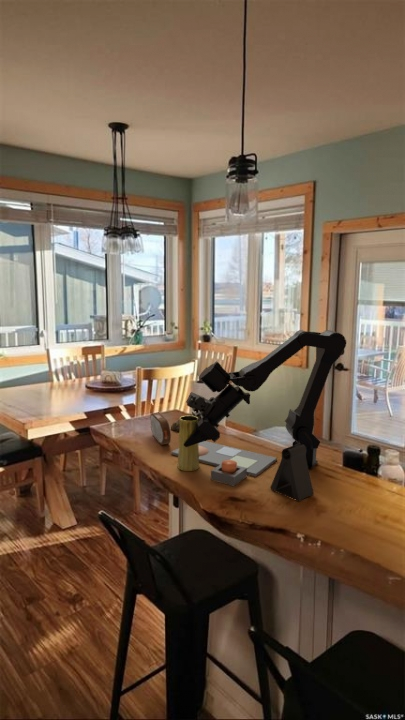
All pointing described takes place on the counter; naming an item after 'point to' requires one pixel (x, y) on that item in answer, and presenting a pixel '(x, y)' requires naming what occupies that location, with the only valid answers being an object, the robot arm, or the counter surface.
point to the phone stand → (293, 474)
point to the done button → (229, 466)
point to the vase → (189, 455)
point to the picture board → (232, 457)
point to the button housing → (228, 475)
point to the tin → (160, 428)
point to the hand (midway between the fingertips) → (183, 442)
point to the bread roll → (177, 425)
